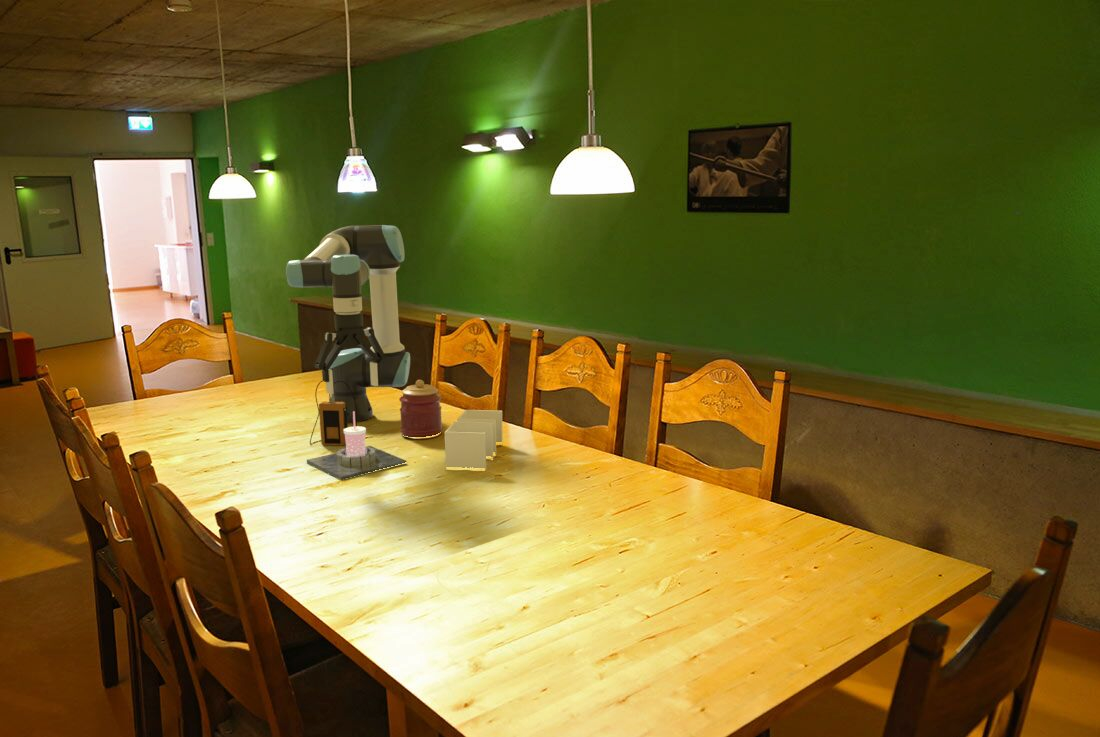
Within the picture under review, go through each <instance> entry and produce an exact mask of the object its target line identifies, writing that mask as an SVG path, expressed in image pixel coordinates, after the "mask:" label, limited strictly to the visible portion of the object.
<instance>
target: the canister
mask: <svg viewBox="0 0 1100 737" xmlns="http://www.w3.org/2000/svg"><path fill="white" fill-rule="evenodd" d="M438 392H439V389H438V388H437V387H435V386H434V385H432V384H425V381H423V379H417V380H416V381H415V384H411V385H408V386H406V387H405V388H404V389H403V390H401V393H402V395H401V396H400V397H399V402H400V404H401V405H400V406H401V407H400V408H399V411H400V433H401V436H402V435H404V436H408V437H426V436H432V435H436V434H438V433H440V432H441V431H443V424H442V421H443V420H442V408H443V407H442V406H441V403H440V401H441V399H442V396H441V395H440V394H438Z"/></svg>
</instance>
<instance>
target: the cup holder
mask: <svg viewBox="0 0 1100 737" xmlns="http://www.w3.org/2000/svg"><path fill="white" fill-rule="evenodd" d="M405 462H407V460H406V459H404V458H401V457H398V456H396V455H394V454H392V453H390V452H389V453H388V452H386V451H384V450H381V449H379V448H377V447H374V446H371V445H367V446H366V445H365V454H364V455H360V456H347V449H346V447H345V448H341V449H339V450H337V451H336V453H331V454H327V455H322V456H317V457H314V458H309V459H306V464H307V465H309V466H312V467H314V466H315V467H314V468H316V469H318V468H319V469H318V470H320V471H322V472H324V473H326V474H328V473H329V475H330V476H333V477H334V476H335V477H334V478H336V477H337V478H336V479H338V478H339V480H341V481H343V479H344V480H347V479H346V478H348V479H351V478H350V477H352V478H355V477H354V476H356V477H359V476H358V475H360V476H362V475H361V474H364V475H366V474H365V473H368V472H373V471H375V470H379V469H383V468H387V467H391V466H395V465H398V464H402V463H405ZM373 473H374V472H373ZM368 474H369V473H368Z"/></svg>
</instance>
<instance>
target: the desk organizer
mask: <svg viewBox="0 0 1100 737" xmlns="http://www.w3.org/2000/svg"><path fill="white" fill-rule="evenodd" d="M503 432H504V431H503V410H492V409H491V410H490V409H489V410H487V409H481V410H480V409H465V410H464V411H463V412H462V413H461V414H460V415H459V417H458V418H457V419H456V421H453V422H452V423H451V424H450V426H449V427H448V428H447V429H446V430H445V431H444V457H445V468H446V467H462V468H465V467H467V468H470V467H471V468H472V467H473V468H485V467H486V468H487V460H486V456H491V457H493V458H494V456H493V452H496V453H497V446H496V442H503V443H504V441H503V436H504V435H503Z"/></svg>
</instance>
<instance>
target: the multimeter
mask: <svg viewBox="0 0 1100 737" xmlns="http://www.w3.org/2000/svg"><path fill="white" fill-rule="evenodd" d="M322 382H324V381H323V379H322V380H321V381H319V383H317V385H316V389H315V391H314V392H315V395H314V396H315V402H316V406H317V410H318V414H317V417H316V421H315V423H314V426H313V428H312V432H311V435H310V439H309V445H313V444H316V443H319V442H321V445H322V446H325V445H326V446H340V445H341V446H340V447H343V446H346V440H345V434H344V431H343V430H344V429H345V428H348V427H349V424H348V423H349V422H347V413H346V408H345V402H335V399H334V394H333V398H332V400H333V402H331V394H329V393H328V394H329V396H328V401H326V400H325V401H321V402H320V403H319V404H318V399H317V390H318V389H319V385H320V384H321V383H322ZM337 382H343V381H337ZM337 382H335V383H337ZM335 383H334V384H335ZM343 383H345V382H343ZM334 384H333V386H334ZM345 384H346V383H345ZM346 385H347V386H348V384H346ZM348 387H349V386H348ZM349 389H350V387H349ZM350 391H351V389H350ZM351 393H352V391H351ZM352 395H353V393H352ZM353 399H354V396H353ZM354 402H355V399H354ZM355 408H356V403H355ZM318 419H319V420H318ZM318 421H319V428H320V430H319V431H320V440H316V441H314V442H312V437H313V434H314V431H315V428H316V425H317V422H318ZM355 426H358V422H357V409H356V422H355ZM318 441H319V442H318ZM312 443H313V444H312Z"/></svg>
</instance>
